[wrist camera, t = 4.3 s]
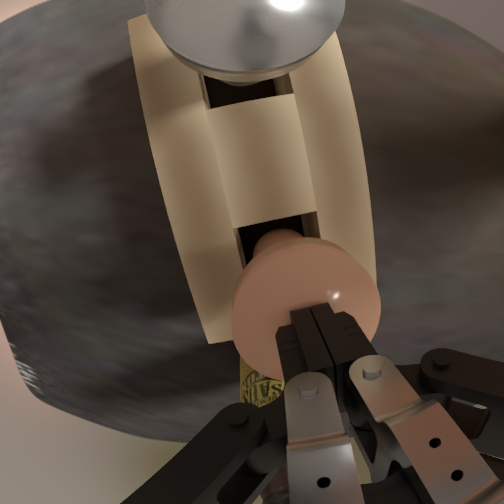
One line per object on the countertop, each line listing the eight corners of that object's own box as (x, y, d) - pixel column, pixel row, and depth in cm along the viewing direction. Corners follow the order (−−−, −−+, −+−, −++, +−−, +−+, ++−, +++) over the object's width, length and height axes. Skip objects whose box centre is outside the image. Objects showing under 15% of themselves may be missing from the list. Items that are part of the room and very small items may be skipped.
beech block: (301, 18, 18) (319, -15, 13) (349, 273, 26) (376, 305, 20) (151, 47, 19) (127, 20, 13) (213, 303, 26) (208, 344, 20)
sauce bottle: (260, 308, 26) (295, 540, 8) (318, 334, 28) (393, 530, 9) (226, 360, 28) (225, 564, 9) (281, 380, 29) (315, 563, 10)
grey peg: (283, 4, 13) (314, -77, 5) (308, 97, 14) (368, 58, 7) (176, 24, 13) (137, -53, 5) (196, 119, 15) (159, 91, 7)
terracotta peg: (321, 199, 18) (377, 236, 10) (333, 288, 20) (379, 361, 12) (222, 220, 18) (213, 272, 10) (244, 308, 20) (250, 393, 12)
